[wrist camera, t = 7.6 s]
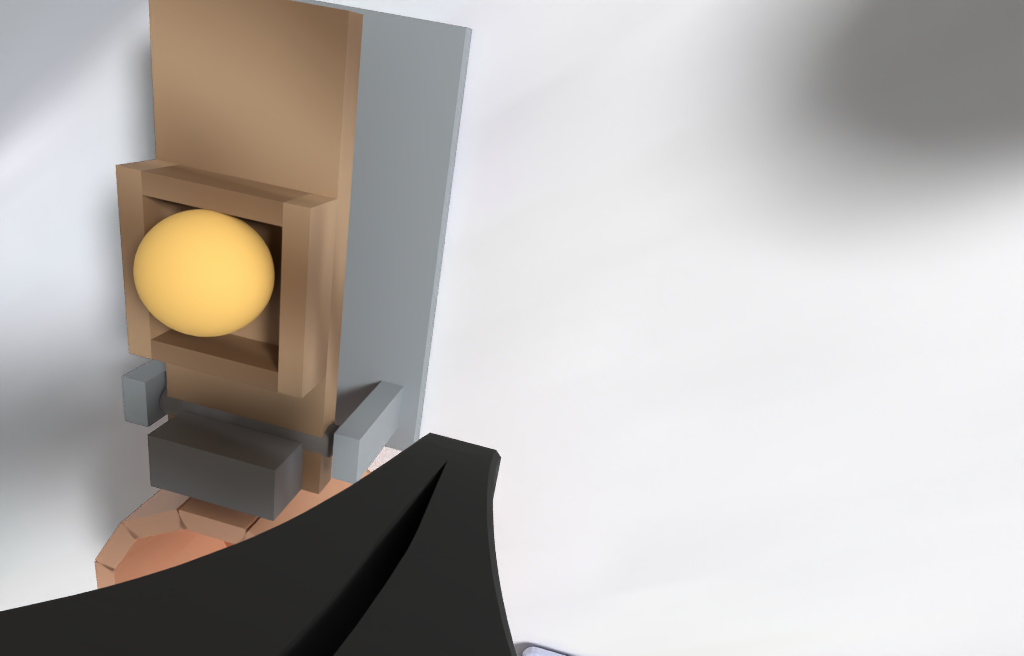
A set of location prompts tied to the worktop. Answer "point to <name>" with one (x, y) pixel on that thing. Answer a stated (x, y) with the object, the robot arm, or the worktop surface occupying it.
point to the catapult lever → (273, 215)
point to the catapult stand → (382, 237)
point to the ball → (204, 273)
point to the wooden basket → (187, 532)
